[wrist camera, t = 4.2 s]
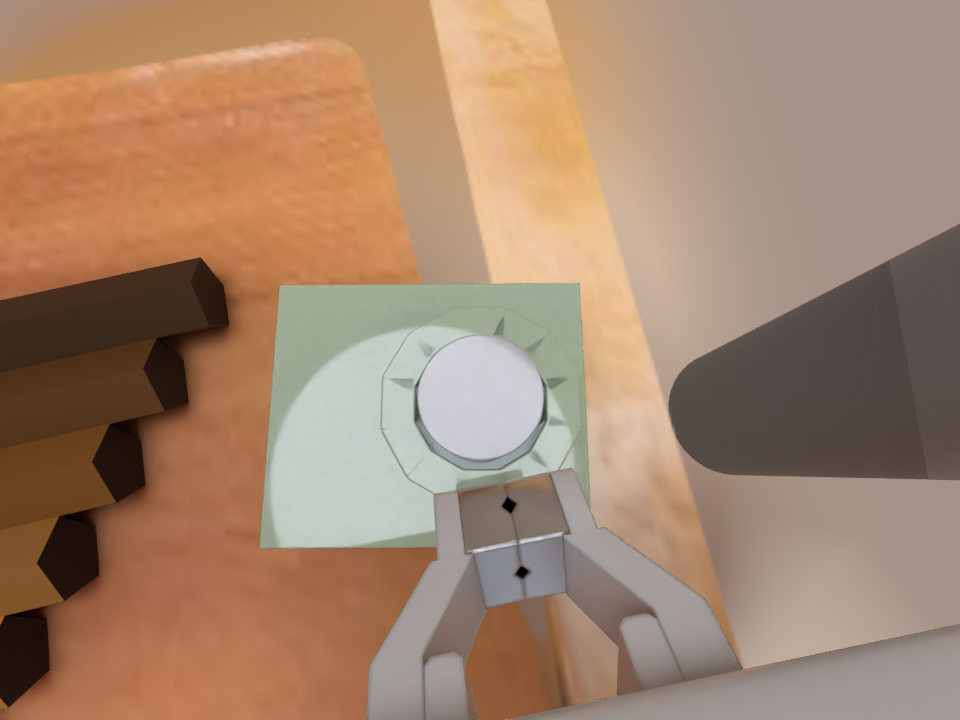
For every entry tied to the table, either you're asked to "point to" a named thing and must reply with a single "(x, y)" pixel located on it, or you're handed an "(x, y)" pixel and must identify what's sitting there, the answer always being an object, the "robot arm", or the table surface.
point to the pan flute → (80, 429)
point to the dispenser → (401, 406)
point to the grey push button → (480, 397)
